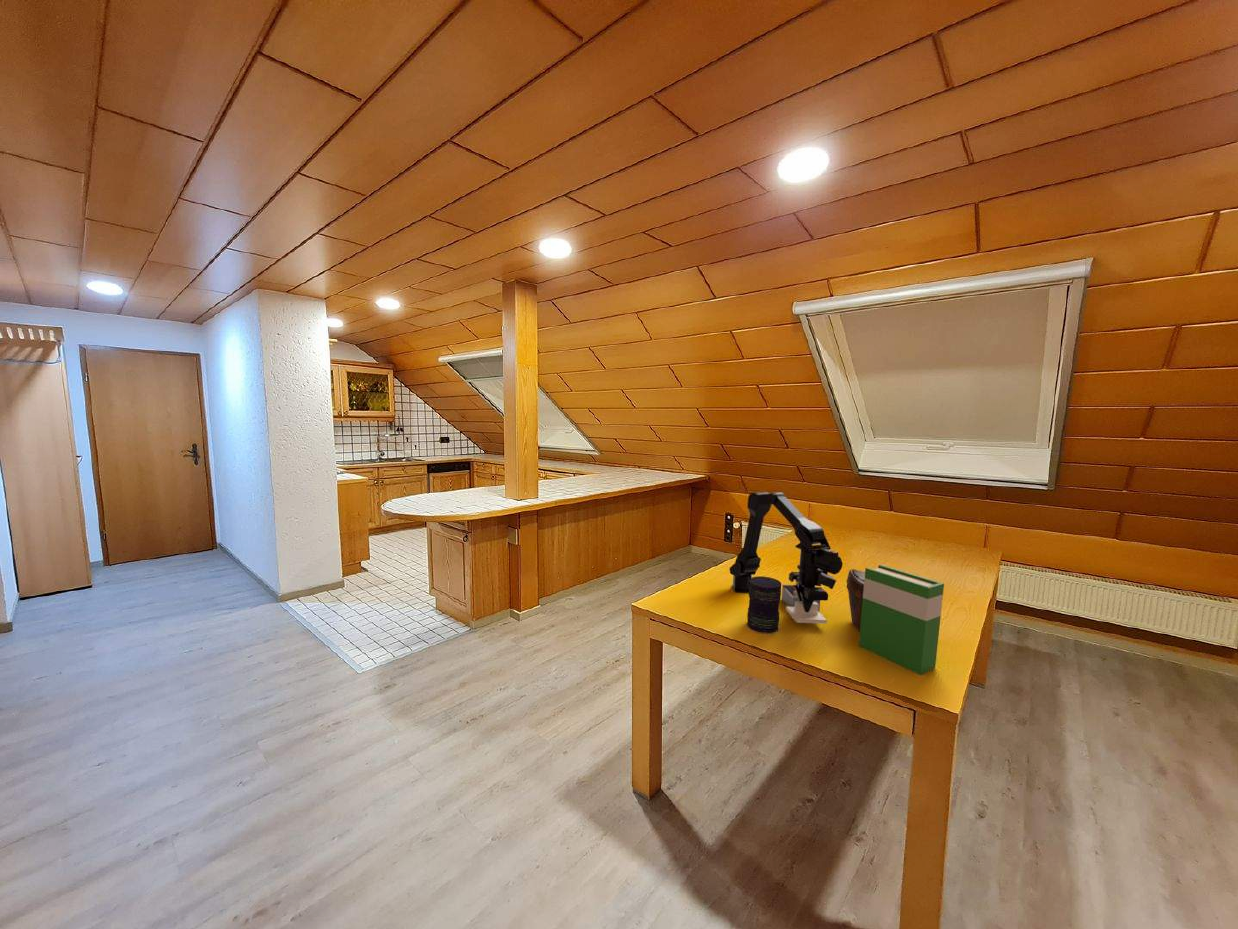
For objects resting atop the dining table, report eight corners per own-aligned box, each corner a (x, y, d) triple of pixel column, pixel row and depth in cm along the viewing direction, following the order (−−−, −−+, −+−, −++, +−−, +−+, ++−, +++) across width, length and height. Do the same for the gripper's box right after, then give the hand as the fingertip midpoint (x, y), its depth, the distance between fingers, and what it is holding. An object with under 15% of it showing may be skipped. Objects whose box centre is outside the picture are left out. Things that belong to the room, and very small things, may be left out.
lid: (796, 622, 154) (797, 608, 154) (786, 609, 164) (787, 596, 163) (826, 623, 154) (827, 609, 153) (814, 610, 164) (815, 597, 163)
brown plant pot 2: (924, 638, 150) (929, 582, 148) (866, 642, 146) (870, 585, 145) (884, 615, 167) (887, 564, 165) (831, 618, 164) (834, 566, 162)
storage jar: (774, 636, 148) (777, 589, 147) (742, 628, 154) (745, 582, 152) (782, 625, 157) (785, 580, 155) (752, 617, 162) (754, 574, 160)
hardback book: (858, 646, 144) (865, 568, 141) (873, 641, 147) (880, 564, 145) (920, 675, 129) (929, 588, 126) (935, 668, 132) (944, 583, 130)
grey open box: (792, 613, 166) (794, 597, 165) (781, 599, 178) (782, 584, 177) (819, 614, 166) (820, 598, 165) (806, 600, 178) (807, 585, 177)
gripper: (847, 575, 147) (842, 624, 149) (822, 556, 166) (818, 600, 168) (810, 574, 148) (806, 622, 149) (789, 555, 166) (786, 599, 168)
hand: (805, 610), depth 159 cm, fingers closed on lid
